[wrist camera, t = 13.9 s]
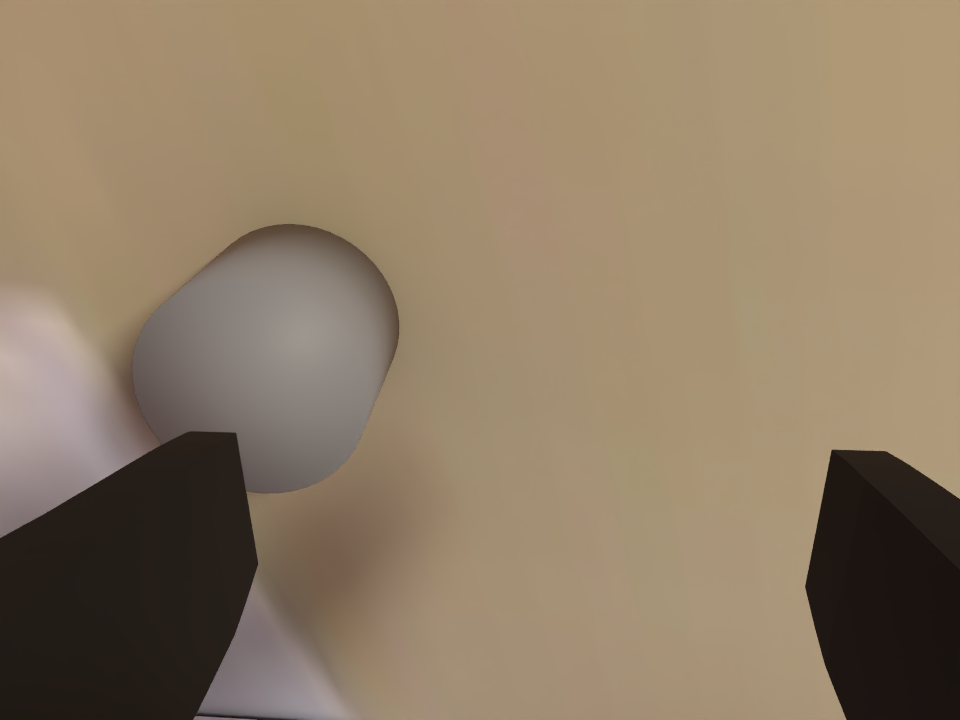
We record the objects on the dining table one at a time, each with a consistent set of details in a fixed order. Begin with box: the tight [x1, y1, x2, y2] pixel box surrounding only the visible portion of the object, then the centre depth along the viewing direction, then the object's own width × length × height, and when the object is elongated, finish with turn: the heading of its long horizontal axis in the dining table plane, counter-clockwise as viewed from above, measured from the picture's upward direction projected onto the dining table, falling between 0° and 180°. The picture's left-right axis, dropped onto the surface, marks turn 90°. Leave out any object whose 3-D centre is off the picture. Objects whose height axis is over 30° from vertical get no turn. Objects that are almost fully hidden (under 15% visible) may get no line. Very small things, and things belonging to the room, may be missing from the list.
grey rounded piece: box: [132, 224, 399, 493], centre depth 19 cm, size 5×5×4 cm
